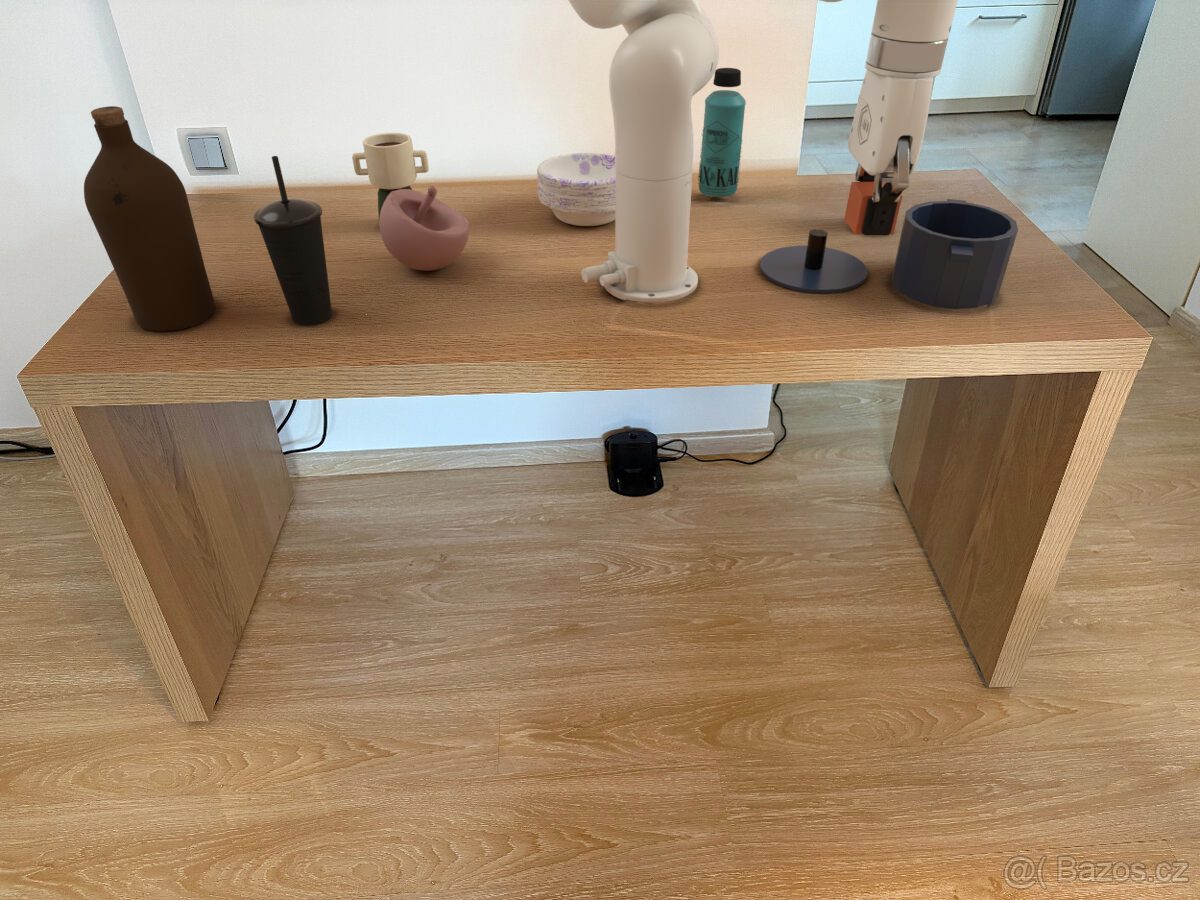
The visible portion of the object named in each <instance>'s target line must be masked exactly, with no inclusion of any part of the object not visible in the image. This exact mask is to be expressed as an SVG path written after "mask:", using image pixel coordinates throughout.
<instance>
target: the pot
mask: <svg viewBox="0 0 1200 900" xmlns="http://www.w3.org/2000/svg"><path fill="white" fill-rule="evenodd" d="M1018 231H1019V227H1018V223H1017V220H1015V219H1014V218H1012V217H1011V216H1010V215H1009V214H1007V213H1005V212H1002V211H1000V210H997V209H995V208H992V207H991V206H986V205H982V204H977V203H973V202H967V200H962V199H954V198H953V199H952V198H946V200H938V201H937V200H936V201H925V202H922V203H918V204H914V205H912V206H911V207H909V208H908V209H906V210H905V213H904V218H903V223H902V228H901V232H900V237H899V241H898V245H897V251H896V255H895V261H894V265H893V269H892V274H891V285H892V286H893V287H894V289H896V291H897V292H898V293H900V294H901V295H903V296H905V297H907V298H908V299H910V300H912V301H915V302H918V303H921V304H925V305H929V306H931V307H937V308H946V309H953V310H961V309H976V308H980V307H983V306H986V305H987V308H989V307H991V306H992V305H993V304H994V303H995V302H996V301H997V298H998V297H999V295H1000V291H1001V288H1002V284H1003V282H1004V278H1005V274H1006V272H1007V268H1008V264H1009V262H1010V258H1011V255H1012V252H1013V249H1014V245H1015V241H1016V238H1017V235H1018Z"/></svg>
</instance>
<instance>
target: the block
mask: <svg viewBox="0 0 1200 900" xmlns="http://www.w3.org/2000/svg"><path fill="white" fill-rule="evenodd" d="M885 183H886V182H882V187H883V186H884V185H885ZM873 186H874V182H860V181H851V184H850V189H849V193H848V199H847V203H846V208H845V213H844V217H843V218H844V221H845V223H846V224H847V226H848V227H849V228H850V230H851V231H852V232H853V234H854V235H864V234H863V233H862V226H863V222H864V217H865V212H866V207H867V203H868V199H872V193H873ZM902 200H903V195H902V194H901V197H900V201H899V202H898V204H897V208H896V212H895V217H894V221H893V225H892V230H891V233H890V234H889V235H894V234H895V230H896V226H897V221H898V217H899V214H900V209H901V204H902Z"/></svg>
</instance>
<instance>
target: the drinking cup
mask: <svg viewBox="0 0 1200 900" xmlns="http://www.w3.org/2000/svg"><path fill="white" fill-rule="evenodd" d="M271 161H272V165H273V169H274V174H275V177H276V182H277V187H278V190H279V193H280V198H281V199H277V200H274V201H272V202H270V203H268V204H266V205H263V206H262V207H260V208H259V209H257V210H256V211H255V212H254V214H253V220H254V222H255V224H256V225H257V226H258V227H259V228H258V229H259V230H260V233H261V235H262V239H263V241H264V244H265V247H266V249H267V253H268V256H269V258H270V261H271V263H272V266H273V269H274V272H275V274H276V277H277V281H278V282H279V286H280V288H281V291H282V295H283V296H284V299H285V302H286V305H287V307H288V311H289V313H290V316H291V318H292V320H293V322H294V323H295V324H297V325H301V326H313V325H319V324H322V323H325V322H326V321H328V320H329V319H330V318H331V317H332V316H333V310H332V302H331V301H332V300H331V293H330V284H329V277H328V268H327V259H326V252H325V251H326V250H325V242H324V235H323V234H324V233H323V226H322V217H321V216H322V215H323V208H322V206H321V205H320V204H319V203H317V202H315V201H311V200H305V199H301V198H288V194H287V189H286V185H285V181H284V178H283V173H282V169H281V164H280V160H279V156H278V155H273V156H271Z"/></svg>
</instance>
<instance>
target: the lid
mask: <svg viewBox="0 0 1200 900" xmlns="http://www.w3.org/2000/svg"><path fill="white" fill-rule="evenodd" d="M827 241H828V232H827V230H824V229H819V228H818V229H817V228H816V229H810V230H809V232H808V238H807V245H806V244H805V245H789V246H784V247H780V248H775V249H773V250H771V251H769V252H767V253H766V254H764V255H763V256H762V257H761V258H760V262H759V270H760V273H761V274H762V275H763V277H764V278H766V280H768V281H770V282H771V283H772V284H775V285H777V286H779V287H782V288H784V289H789V290H792V291H798V292H801V293H809V294H837V293H844V292H847V291H850V290H854V289H856V288H858V287H860V286H861V285H863V284H864V283H865V281H866V280H867V277H868V268H867V266H866V264H865V263H864V262H863V261H862V260H860V259H859V258H858V257H856V256H854V255H852V254H851V253H848V252H845V251H842V250H839V249H836V248H832V247H826V246H827Z"/></svg>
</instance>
